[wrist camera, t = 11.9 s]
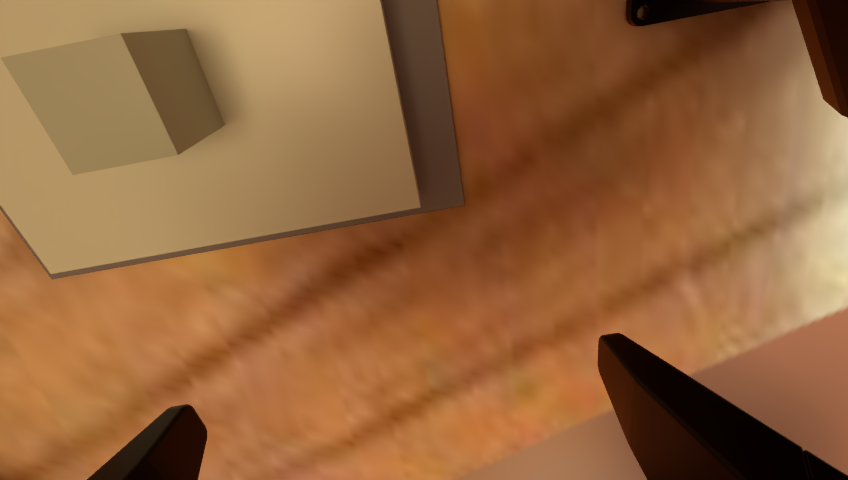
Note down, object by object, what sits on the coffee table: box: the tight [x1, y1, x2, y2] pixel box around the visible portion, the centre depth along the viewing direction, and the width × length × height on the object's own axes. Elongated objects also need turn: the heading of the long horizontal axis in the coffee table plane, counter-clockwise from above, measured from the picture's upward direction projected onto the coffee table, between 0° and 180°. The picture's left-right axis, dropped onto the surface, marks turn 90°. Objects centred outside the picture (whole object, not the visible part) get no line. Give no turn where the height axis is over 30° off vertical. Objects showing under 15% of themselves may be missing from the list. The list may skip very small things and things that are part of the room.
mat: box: [0, 0, 465, 279], centre depth 18 cm, size 22×16×1 cm
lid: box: [0, 0, 420, 274], centre depth 15 cm, size 18×14×6 cm
